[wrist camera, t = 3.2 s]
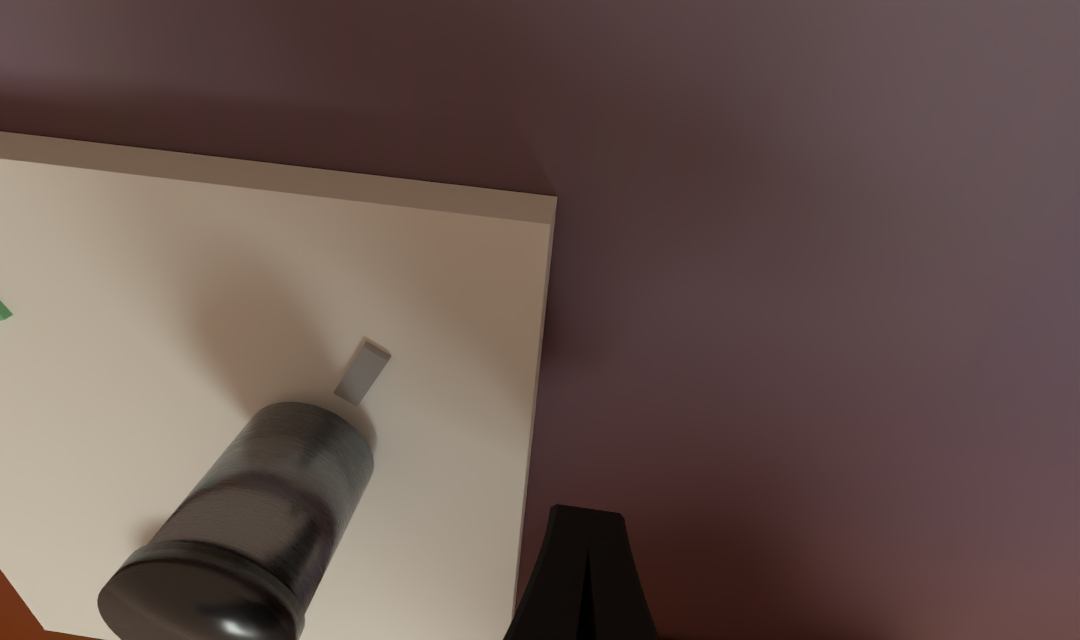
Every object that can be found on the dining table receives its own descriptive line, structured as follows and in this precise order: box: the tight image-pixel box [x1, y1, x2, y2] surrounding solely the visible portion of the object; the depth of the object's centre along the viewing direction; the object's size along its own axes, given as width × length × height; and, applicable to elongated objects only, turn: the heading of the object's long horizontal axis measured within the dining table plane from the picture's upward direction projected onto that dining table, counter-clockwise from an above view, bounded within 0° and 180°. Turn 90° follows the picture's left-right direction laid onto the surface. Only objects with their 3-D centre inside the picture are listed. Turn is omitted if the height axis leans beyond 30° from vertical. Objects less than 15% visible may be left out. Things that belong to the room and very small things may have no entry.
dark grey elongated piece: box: [97, 402, 374, 640], centre depth 13 cm, size 12×4×4 cm, turn 145°
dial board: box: [0, 131, 557, 640], centre depth 15 cm, size 17×18×2 cm
